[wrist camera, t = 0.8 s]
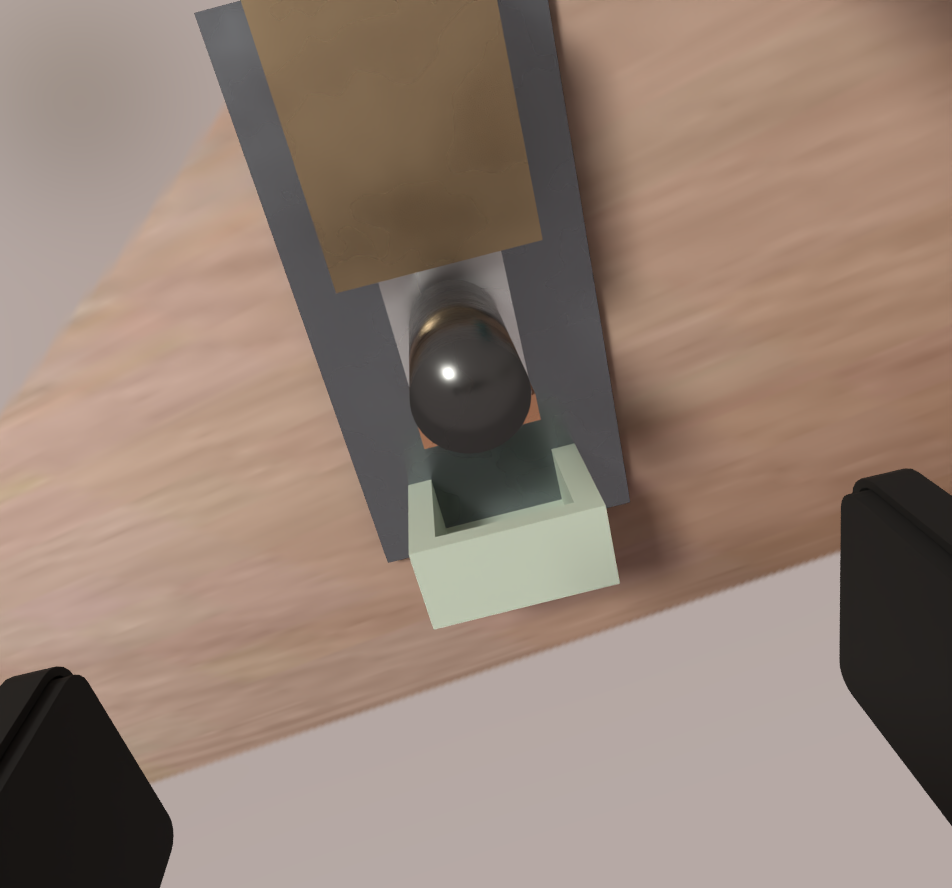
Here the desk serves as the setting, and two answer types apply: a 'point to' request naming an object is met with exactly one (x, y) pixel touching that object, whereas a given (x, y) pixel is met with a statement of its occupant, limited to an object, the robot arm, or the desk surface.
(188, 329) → the desk surface
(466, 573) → the socket
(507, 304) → the grey slider block
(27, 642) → the desk surface
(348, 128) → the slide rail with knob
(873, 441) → the desk surface
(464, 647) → the desk surface
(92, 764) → the robot arm
